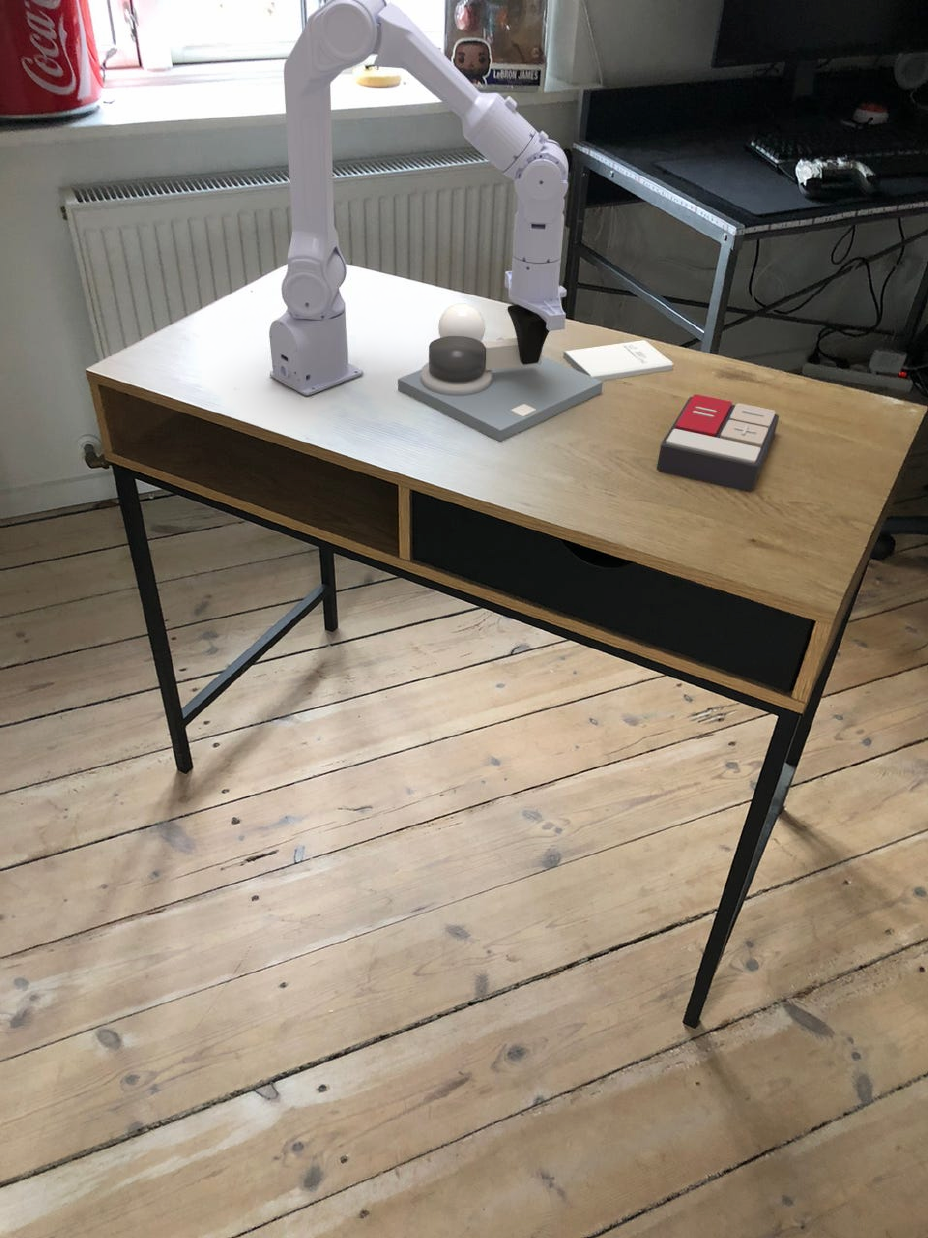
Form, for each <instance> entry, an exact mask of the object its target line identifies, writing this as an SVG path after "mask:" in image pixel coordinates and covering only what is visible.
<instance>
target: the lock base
mask: <svg viewBox="0 0 928 1238" xmlns="http://www.w3.org/2000/svg"><path fill="white" fill-rule="evenodd" d="M502 339H504V338H502V337H499V338H497V339H496V340H502ZM421 367H422V368H421V369H419V370H417V371H415V372H412V373H410V374H407V375H405V376H402V377H399V378H397V391H399V392H401V393H403V394H405V395H407V396H409V397H411V398H414V399H415V400H417V401H419V402H421V403H423V404H424V405H427V406H429V407H430V408H433V409H435V410H437V411H439V412H441V413H442V414H444V415H447V416H449V417H450V418H452V419H454V420H457V421H458V422H460V423H462V424H464V425H465V426H468V427H470V428H472V429H474V430H475V431H479V433H482V434H485V435H486V436H488V437H489V438H492V439H493V440H496V441H497V442H500V443H501V442H503V441H505V440H506V439H509V438H511V437H513V436H516V435H518V434H519V433H521V432H523V431H525V430H527V429H529V428H531V427H533V426H536V425H537V424H540V423H542V422H544V421H546V420H548V419H550V418H552V417H555V416H556V415H558V414H560V413H563V412H565V411H567V410H569V409H571V408H573V407H575V406H577V405H578V404H581V403H584V402H585V401H588V400H589V399H592V398H594V397H596V396H597V395H600V394H602V392H603V385H604V384H603V383H604V381H600V380H598V379H595V378H593V377H591V376H588V375H586V374H584V373H581V372H579V371H577V370H576V369H575V368H573V367H570V366H567V365H565V364H563V363H560V362H558V361H556V360H553V359H551V358H549V357H546V356H545V355H542V359H541V364H540V365H531V366H522V367H512V368H503V369H494V370H485V369H484V374H483V375H482V376H481V377H479V378H478V379H475V380H472V381H468V382H448V381H443V380H440V379H438V378H436V377H434V376H432V375H431V373H430V372H429V361H428V362H426V363H425V364H424V365H423V366H421Z"/></svg>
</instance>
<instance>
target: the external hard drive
mask: <svg viewBox="0 0 928 1238" xmlns="http://www.w3.org/2000/svg"><path fill="white" fill-rule="evenodd" d="M562 358H563V359H564V360H565V361H566V362H567V363H568V364H569V365H571V367H572V368H573V369H574V370H577V371H579V372H581V373H584V374H586V375H588V376H591V377H593V378H595V379H598V380H600V381H602V382H605V381H611V380H617V379H624V378H629V377H630V378H631V377H637V376H643V375H648V374H654V373H661V372H666V371H667V372H668V371H672V370H673V368H674V363H673V361H671V360H670V359H669V358H668V357H667V356H665V355H664V354H663V353H661V352H660V351H659V350H657V349H656V348H655V347H654V346H653V345H652V344H650V343H649V342H648V341H647V340H645V339H643V340H637V341H636V340H635V341H630V342H620V343H615V344H608V345H601V346H595V347H594V346H593V347H588V348H587V347H586V348H580V349H572V350H566V351H563V356H562Z"/></svg>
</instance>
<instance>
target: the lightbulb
mask: <svg viewBox="0 0 928 1238" xmlns="http://www.w3.org/2000/svg"><path fill="white" fill-rule="evenodd" d="M438 321H439V322H438V328H437V329H438V336H439V338H442V337H446V336H465V337H470V338H474V339H476V340H479V341H480V342H482V341H483V339H484V336H485V334H486V333H485V332H486V323H485V319H484V316H483V314H482V313H481V312H480V310H478V309H477V308H476V307H474V306H473V305H471V304H468V303H455V304H453V305H450V306H449V307H447V308H446V309H445V310H444V311H443V313H442V314H441V316H440V318H439V320H438Z"/></svg>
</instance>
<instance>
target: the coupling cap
mask: <svg viewBox="0 0 928 1238" xmlns="http://www.w3.org/2000/svg"><path fill="white" fill-rule="evenodd" d="M542 356H543V350H542V351H541V355H540V359H539V361H538V363H533V364H525V365H523V364H522V363H521V360H520V354H519V347H518V341H517V337H514V338H513V337H512V338H503V339H502V340H497V339H494V340H492V339H491V340H482V341H481V342H480V341H479V340H476V339H474V338H470V337H465V336H446V337H442V338H440V337H438V338H436V339H434V340H432V342H430V344H429V345H428V362H429V372H430V373H431V375H432V376H434V377H436V378H438V379H440V380H443V381H448V382H468V381H472V380H475V379H478V378H479V377H481V376H482V375H483V374H484V369H485V370H494V369H503V368H512V367H522V366H531V365H540V364H541V359H542Z"/></svg>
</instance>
